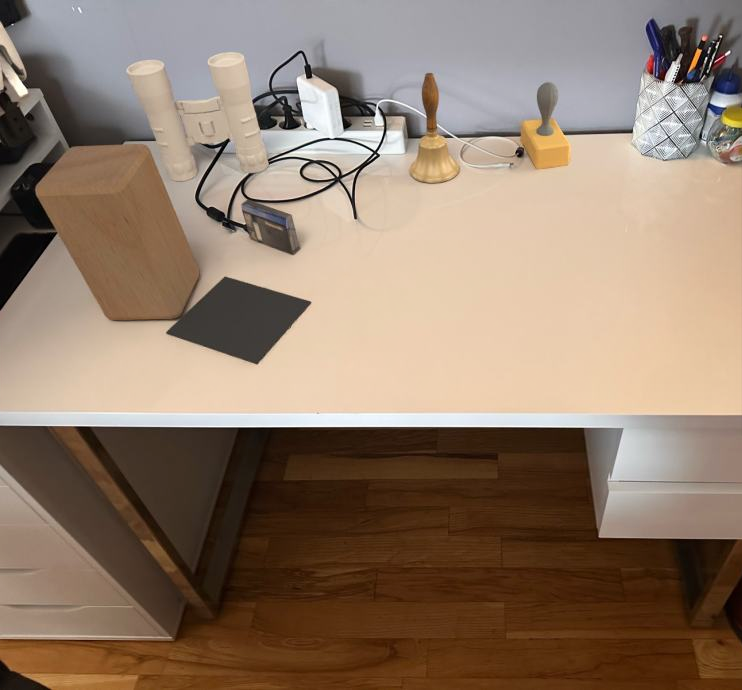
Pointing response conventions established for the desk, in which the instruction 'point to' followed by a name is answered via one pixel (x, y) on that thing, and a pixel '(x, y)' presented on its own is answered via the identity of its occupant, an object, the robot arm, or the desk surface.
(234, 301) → the mat
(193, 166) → the binoculars
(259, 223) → the mini dv tape
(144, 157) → the block
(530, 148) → the rubber stamp
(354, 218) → the desk surface
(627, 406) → the desk surface
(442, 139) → the hand bell
